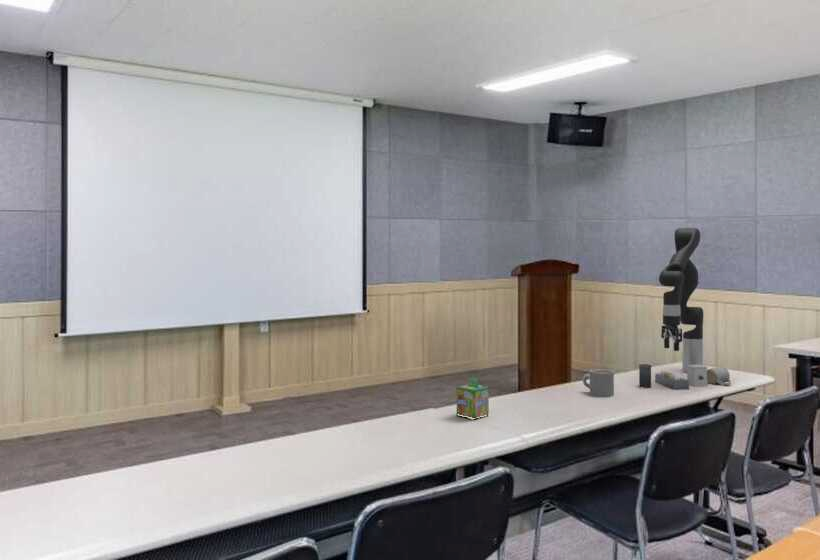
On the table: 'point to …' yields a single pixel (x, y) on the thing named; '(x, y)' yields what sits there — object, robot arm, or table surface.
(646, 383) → the dark grey upright block
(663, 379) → the breaker strip
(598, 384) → the coffee mug
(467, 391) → the chalk box
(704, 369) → the junction box
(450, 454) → the table surface
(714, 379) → the ceramic mug
